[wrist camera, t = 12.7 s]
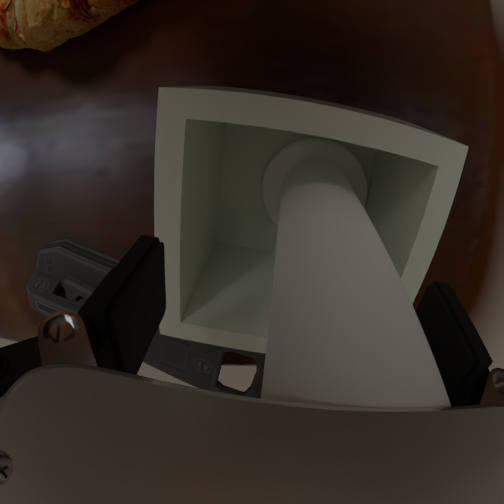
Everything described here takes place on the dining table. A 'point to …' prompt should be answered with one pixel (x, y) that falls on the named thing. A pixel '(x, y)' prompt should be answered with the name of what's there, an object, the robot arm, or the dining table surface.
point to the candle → (338, 292)
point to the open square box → (252, 208)
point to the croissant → (52, 20)
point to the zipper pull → (162, 346)
